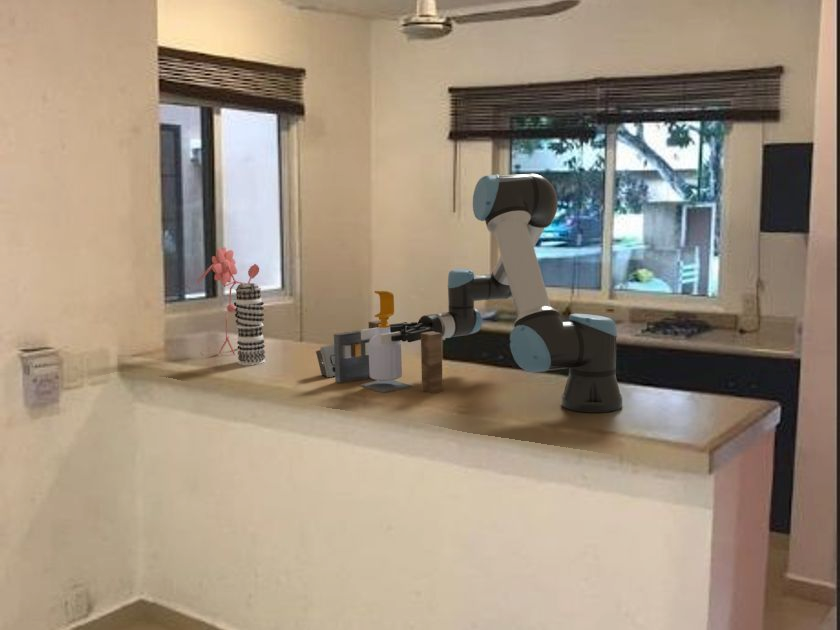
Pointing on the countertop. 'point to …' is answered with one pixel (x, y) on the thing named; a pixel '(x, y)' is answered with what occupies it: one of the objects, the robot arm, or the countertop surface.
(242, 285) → the decorative candle
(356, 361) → the breaker panel
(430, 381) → the gate
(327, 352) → the electrical switch
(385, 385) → the pad
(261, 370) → the countertop surface
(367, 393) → the countertop surface
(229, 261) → the figurine
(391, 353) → the soap bottle
